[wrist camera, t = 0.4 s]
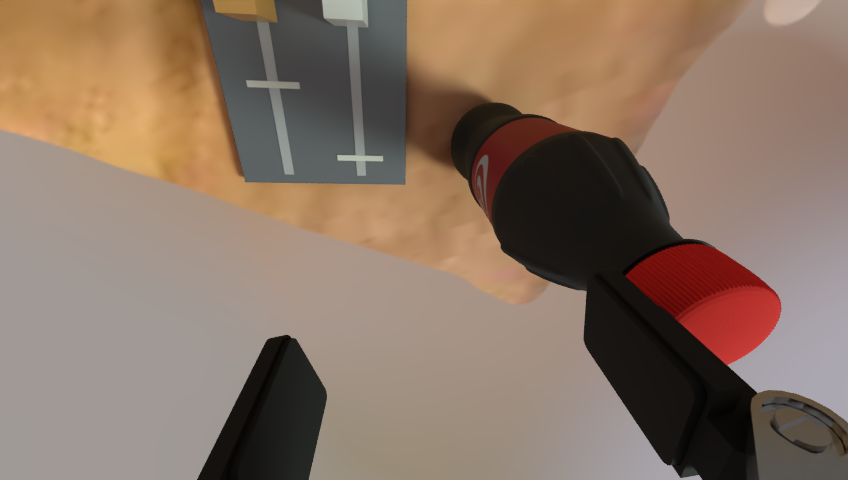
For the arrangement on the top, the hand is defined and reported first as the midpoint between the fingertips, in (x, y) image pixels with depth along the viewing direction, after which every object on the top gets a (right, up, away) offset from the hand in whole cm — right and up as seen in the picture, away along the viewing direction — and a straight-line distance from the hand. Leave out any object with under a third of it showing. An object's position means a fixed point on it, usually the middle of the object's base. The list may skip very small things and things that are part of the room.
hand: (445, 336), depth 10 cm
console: (-11, +20, +21) cm, 31 cm away
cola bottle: (+6, +15, +26) cm, 30 cm away
